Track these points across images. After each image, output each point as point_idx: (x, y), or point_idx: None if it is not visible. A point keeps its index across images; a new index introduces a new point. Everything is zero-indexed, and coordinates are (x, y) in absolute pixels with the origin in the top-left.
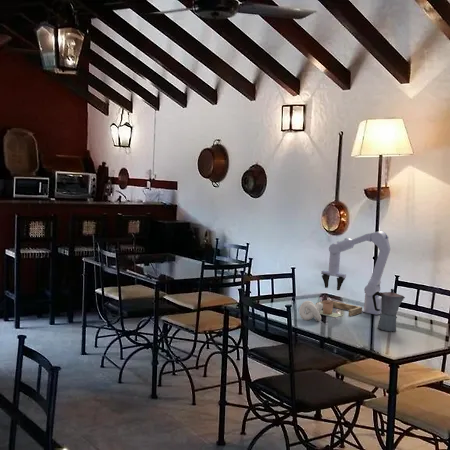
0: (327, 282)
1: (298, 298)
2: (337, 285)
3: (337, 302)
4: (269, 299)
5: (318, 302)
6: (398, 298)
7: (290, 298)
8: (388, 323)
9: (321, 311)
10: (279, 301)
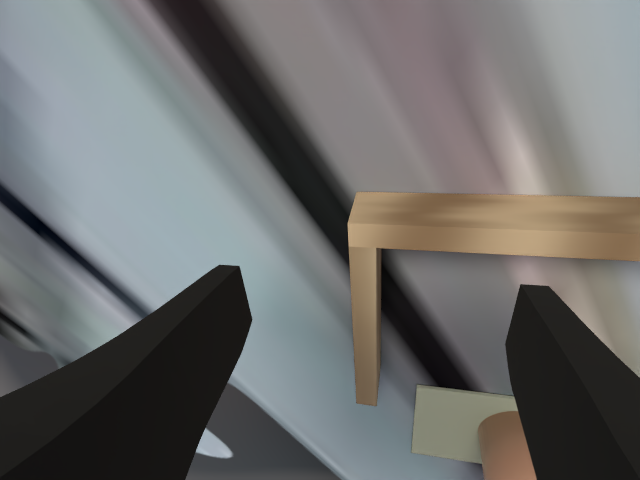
0: (184, 363)
1: (10, 160)
2: (541, 463)
3: (514, 252)
4: (27, 344)
5: (357, 377)
6: None
7: (6, 219)
8: None
9: (454, 417)
10: (89, 348)
